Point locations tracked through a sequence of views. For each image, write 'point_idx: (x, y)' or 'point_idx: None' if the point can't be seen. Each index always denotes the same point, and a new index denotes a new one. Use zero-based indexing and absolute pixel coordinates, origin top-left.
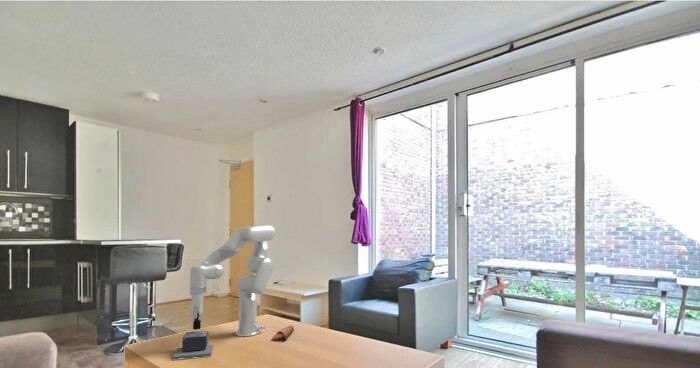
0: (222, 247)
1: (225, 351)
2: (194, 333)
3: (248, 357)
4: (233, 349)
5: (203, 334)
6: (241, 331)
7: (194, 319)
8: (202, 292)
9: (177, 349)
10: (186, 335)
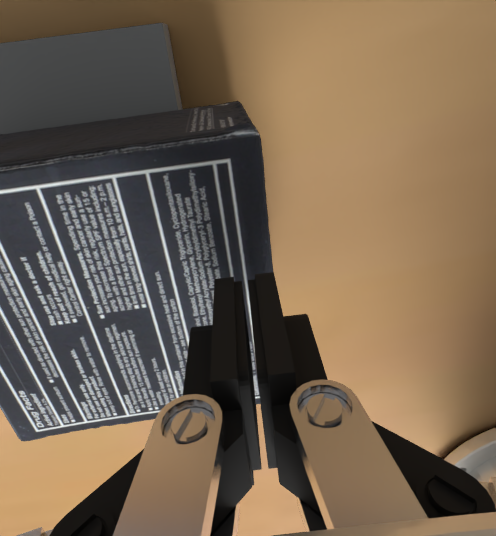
0: None
1: (135, 423)
2: (154, 288)
3: (26, 531)
4: None
5: (101, 399)
6: (486, 480)
7: (150, 463)
8: None
9: (103, 34)
10: (29, 202)
